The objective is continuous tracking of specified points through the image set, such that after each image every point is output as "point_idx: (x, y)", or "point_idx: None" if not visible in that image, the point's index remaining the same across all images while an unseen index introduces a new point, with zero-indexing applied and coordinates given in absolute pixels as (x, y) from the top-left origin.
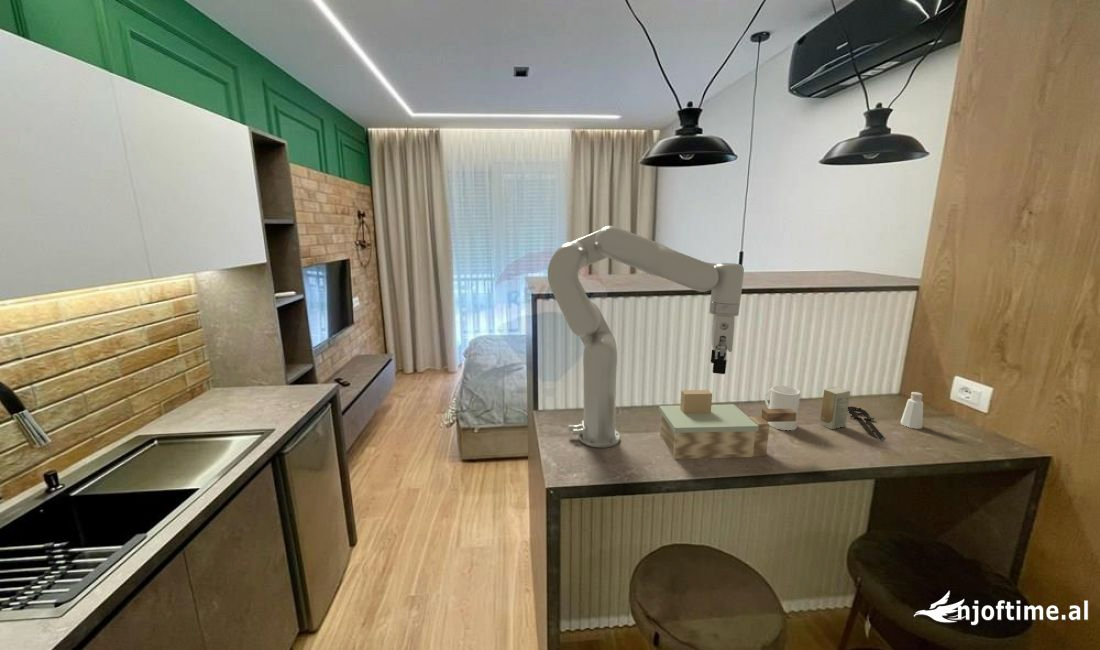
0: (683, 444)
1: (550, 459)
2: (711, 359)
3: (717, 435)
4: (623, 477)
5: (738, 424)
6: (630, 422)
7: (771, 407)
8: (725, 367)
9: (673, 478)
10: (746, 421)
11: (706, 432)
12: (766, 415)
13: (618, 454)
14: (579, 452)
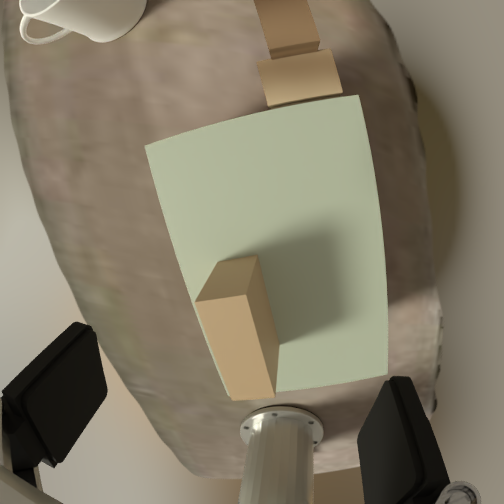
0: None
1: (358, 465)
2: (92, 408)
3: None
4: (420, 392)
5: (356, 170)
6: (191, 382)
7: (88, 22)
8: (424, 419)
9: (435, 322)
10: (321, 129)
11: None
12: (308, 46)
13: (345, 405)
14: (338, 446)
